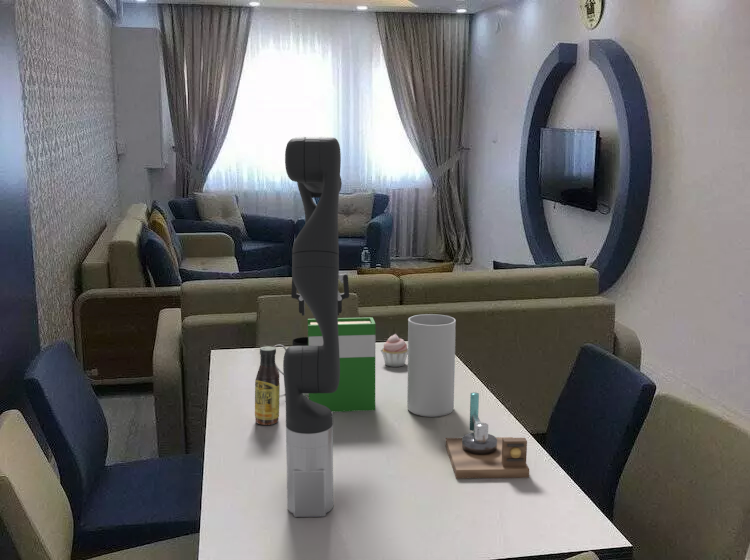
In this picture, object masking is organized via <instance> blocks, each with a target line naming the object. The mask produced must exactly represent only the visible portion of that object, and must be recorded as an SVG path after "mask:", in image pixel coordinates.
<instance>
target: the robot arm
mask: <svg viewBox="0 0 750 560" xmlns="http://www.w3.org/2000/svg"><path fill="white" fill-rule="evenodd" d="M341 155H342V154H341V145H340V143H339V140H338V139H337V138H336V137H332V136H297V137H293V138H291V139H290V140H289V141H288V142H287V144H286V146H285V154H284V163H285V172H286V174H287V177H288V179H290V181H292V182H295V183H296V184H297V188H298V192H299V195H300V197H301V198H300V199H301V201H302V206H303V211H304V221H305V224H304V225H303V227H302V228H301V230H300V231H299V233H298V234H297V236H296V238H295V240H294V242H293V245H292V254H291V258H292V261H291V263H292V265H291V271H292V272H291V275H292V277H291V292H290V293H291V294H290V295H291V296H290V297H291V299H295V300H297V301H298V312H299V314H301V316H302V317H303V316H305V315H306V309H305V308H306V305H307V306H308V309H309V310H310V312H311V313H312V316H313V317H314V319H316V321H317V323H318V326H319V328H320V330H321V333H322V337H323V345H322V346H293V345H290V346H289V347H286V351H285V350H284V351H285V352H284V354H283V355H284V356H283V365H282V366H283V367H282V372H283V373H284V375H283V384H284V397H285V399H284V400H285V437H286V438H285V443H286V445H285V449H286V451H285V453H286V457H285V458H286V490H287V491H286V494H287V495H286V499H287V501H286V502H287V507H286V508H287V509H288V511H289V512H290V513H292V514H293V517H295V518H298V517H300V518H302V517H304V518H307V517H308V518H309V517H316V518H317V517H326V514H327V513H329V512H330V511H332V509H333V508H334V442H333V441H334V421H333V419H334V415H333V412H331V410H330V409H329V408H327V407H326V406H324V405H321V404H318V403H316V402H313V401H311V400H309V397H308V398H307V396H304V395H303V394H302V393H333V392H335V391H336V390H337V388H338V386H339V380H340V357H339V337H338V318H339V317H338V316H340V314H341V313H342V311H343V309H342V308H343V300H345V299H348V298H349V297H350V290H349V289H350V286H349V275H348V273H347V272H343V273H339V271H340V264H339V263H340V260H339V259H340V256H339V255H340V250H339V248H340V245H339V244H340V243H339V198H340V197H339V196H340V192H341V190H342V177H341V163H342V158H341ZM315 198H316V199H317V198H318V199H319V200H318V203H317V204H316V203H315V201H314V199H315ZM339 281H340V283H341V284H343V292H342V293H340V291H339Z"/></svg>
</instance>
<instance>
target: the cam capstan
mask: <svg viewBox="0 0 750 560" xmlns="http://www.w3.org/2000/svg"><path fill="white" fill-rule="evenodd" d="M469 396H470V397H469V398H470V401H469V403H470V404H469V407H470V408H469V431H472V432H469V433H466V434H464V435H463V436H462V437H461V438H462V448H463V449H464V450H465V451H467V452H470V453H474V454H489V453H493V452H495V451H496V450H497V438H496V436H494V435H492V434H490V433H489V423H485V422H482V421H481V420H480V417H479V403H480V401H479V400H480V393H478V392H476V391H475V392H470V395H469Z"/></svg>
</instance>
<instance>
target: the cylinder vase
mask: <svg viewBox="0 0 750 560" xmlns="http://www.w3.org/2000/svg"><path fill="white" fill-rule="evenodd" d="M407 321H408V322H407V325H408V326H407V328H408V329H407V330H408V331H407V348H408V355H407V398H406V399H407V402H406V403H407V405H406V407H407V410H409V412H410V413H412V414H414V415H417V416H419V417H426V418H427V417H428V418H439V417H444V416H447V415H450V414H451V413H452V412H453V411H454V409H455V408H454V407H455V375H456V374H455V367H456V366H455V365H456V326H457V325H456V323H457V322H456V318H454V317H452V316H450V315H447V314H446V315H444V314H435V313H434V314H433V313H429V314H428V313H425V314H424V313H423V314H416V315H413V316H410V317H408V319H407Z"/></svg>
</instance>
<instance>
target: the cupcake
mask: <svg viewBox="0 0 750 560" xmlns="http://www.w3.org/2000/svg"><path fill="white" fill-rule="evenodd" d="M380 352H381V354H382V357H383V361H384V364H385V366H387V367H391V368H399V367H403V366H404V365H405V364H406V360H407V358H408V343H406V341H405V340H404V339H403V338H400V337H399V336H398V335H397V333H394V334H392V335H391V336H389V338H388V339H387V340H386V341H385V343H384V344H383V347H382V349H381V348H380Z"/></svg>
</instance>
